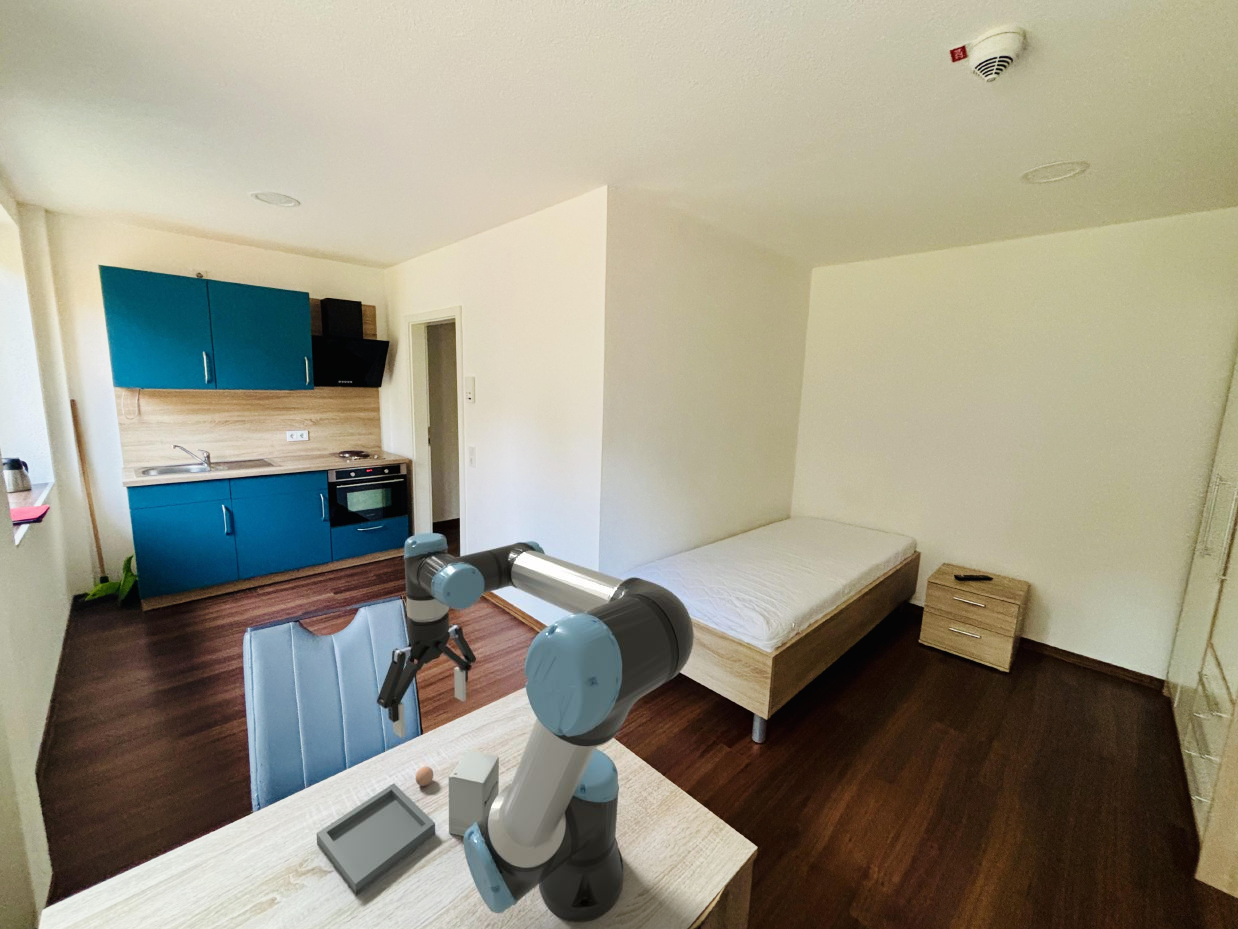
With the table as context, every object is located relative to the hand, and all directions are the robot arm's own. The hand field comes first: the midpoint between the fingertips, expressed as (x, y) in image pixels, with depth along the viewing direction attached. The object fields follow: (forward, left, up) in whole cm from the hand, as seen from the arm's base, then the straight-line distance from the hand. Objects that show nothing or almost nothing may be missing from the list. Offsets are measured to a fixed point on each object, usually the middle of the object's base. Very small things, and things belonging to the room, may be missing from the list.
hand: (431, 715), depth 97 cm
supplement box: (-9, -3, -21) cm, 23 cm away
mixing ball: (+7, -2, -21) cm, 22 cm away
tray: (+2, +11, -21) cm, 24 cm away
